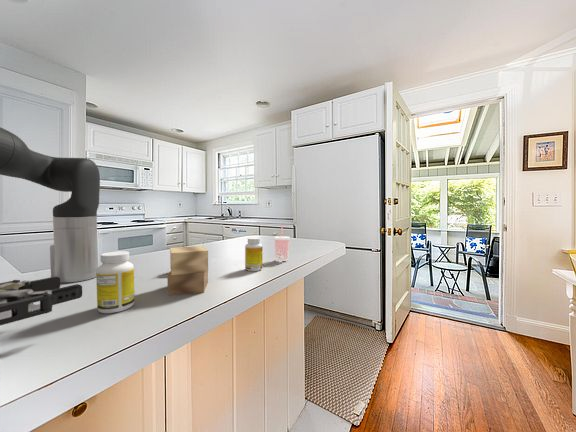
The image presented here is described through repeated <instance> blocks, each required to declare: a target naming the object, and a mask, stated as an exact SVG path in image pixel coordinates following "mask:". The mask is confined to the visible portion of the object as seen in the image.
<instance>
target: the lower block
mask: <svg viewBox="0 0 576 432" xmlns="http://www.w3.org/2000/svg"><path fill="white" fill-rule="evenodd" d="M166 277H167V280H166V281H167V295H168V296H171V295H173V296H174V295H175V296H176V295H189V294H190V295H192V294H205V291H206V288H207V287H208V284H209V270H208V271H206V272H197V273H188V274H178V275H171V270H170V271H169V272H168V273H167V275H166Z"/></svg>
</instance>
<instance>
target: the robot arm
mask: <svg viewBox="0 0 576 432" xmlns="http://www.w3.org/2000/svg"><path fill="white" fill-rule="evenodd" d="M0 176H6V177H11V178H17V179H22V180H25V181H28V182H29V181H30V182H31V183H34V184H38V185H39V186H43V187H45V188H48V189H51V190H53V191H58V192H65V193H66V192H67V193H68V192H69V193H70V192H71V193H70V197H69V198H68V199H67V200H66V201H65V202H64V201H63V202H62V203H59V204H56V205H55V206H54V207H52V225H53V226H52V227H53V228H52V229H53V230H52V231H53V244H51V245H50V246H49V256H50V257H49V259H50V262H49V263H50V277H46V278H41V279H36V280H22V281H21V279H13V280H9V281H4V282H0V326H3V325H8V324H11V323H15V322H18V321H22V320H27V319H30V318H33V317H37V316H40V315H44V314H45V315H46V314H48V313H51V312H53V306H56V305H59V304H62V303H67V302H70V301H73V300H77V299H80V298H82V297H83V286H82V284H78V282H82V281H87V280H91V279H94V278H96V270H97V268H98V267H99V253H98V218H97V216H98V209H99V206H100V188H101V187H100V186H101V177H100V176H101V174H100V170H99V167H98V165H97V164H96V163H95V162H94V161H93V160H92V159H90V158H86V157H85V158H84V157H55V156H50V155H45V154H42V153H40V152H37V151H34V150H32V149H30V148H29V147H28V145H27V144H26V142H24V141H23V140H22V139H21V137H19V136H18V135H17V134H15V133H13V132H11V131H9V130H7V129H5V128H3V127H1V126H0ZM74 282H77V283H76V284H72V285H67V286H63V287H61V283H62V284H63V283H74ZM36 302H37V303H38V304H34V303H36Z"/></svg>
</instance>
